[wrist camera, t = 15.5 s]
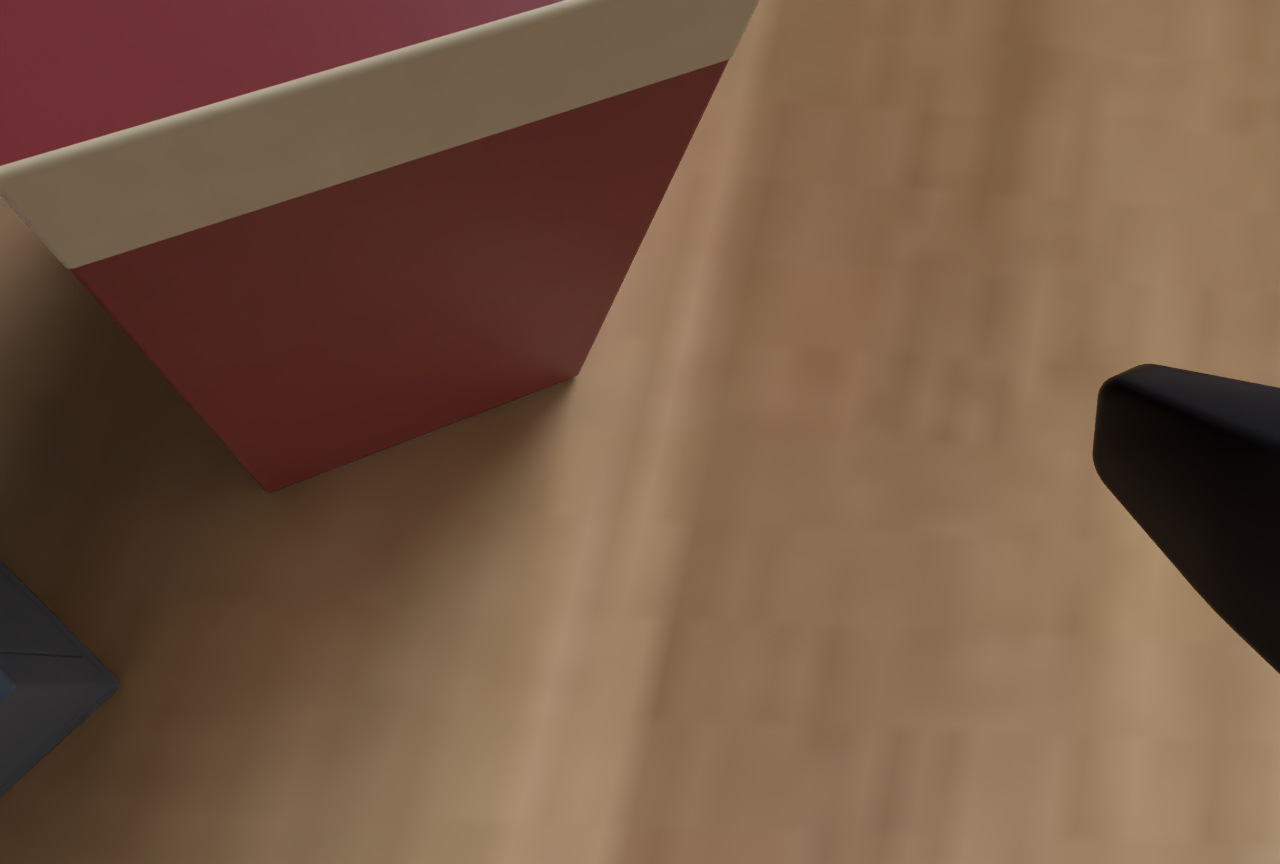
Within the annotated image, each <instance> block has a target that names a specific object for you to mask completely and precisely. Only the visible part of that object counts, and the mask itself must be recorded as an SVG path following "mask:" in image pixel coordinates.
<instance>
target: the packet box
mask: <svg viewBox="0 0 1280 864" xmlns="http://www.w3.org/2000/svg"><path fill="white" fill-rule="evenodd" d="M120 685H121V684H120V682H119V680H118V679H117V678H116V677H115V676H114V675H113V674H112V673H111V672H110V671H109V670H108V669H107V668H106V667H105V666H104V665H103V664H102V663H101V662H100V661H99V660H98V659H97V658H96V657H95V656H94V655H93V654H92V653H91V652H90V651H89V650H88V649H87V648H86V647H85V646H84V645H83V644H82V643H81V642H80V641H79V640H78V639H77V638H76V636H75V635H74V634H73V633H72V632H71V631H70V630H69V629H68V628H67V627H66V626H65V625H64V624H63V623H62V622H61V621H60V620H59V619H58V618H57V617H56V616H55V615H54V614H53V613H52V612H51V611H50V610H49V609H48V608H47V607H46V606H45V605H44V604H43V603H42V602H41V601H40V600H39V599H38V598H37V597H36V596H35V595H34V594H33V593H32V592H31V591H30V590H29V589H28V588H27V587H26V586H25V585H24V584H23V583H22V582H21V581H20V580H19V579H18V578H17V577H16V576H15V575H14V574H13V573H12V572H11V571H10V570H9V568H8V567H7V566H6V565H5V564H4V563H3V562H2V561H1V560H0V797H1V796H2V795H3V794H4V793H5V792H6V791H7V790H8V789H9V788H10V787H11V786H13V785H14V784H15V783H16V782H17V781H18V780H19V779H20V778H21V777H22V776H23V775H25V774H26V773H27V772H28V771H29V770H30V769H31V768H32V767H33V766H34V765H35V764H37V763H38V762H39V761H40V760H41V759H42V758H43V757H44V756H45V755H46V754H47V753H49V752H50V751H51V750H52V749H53V748H54V747H55V746H56V745H57V744H58V743H59V742H61V741H62V740H63V739H64V738H65V737H66V736H67V735H68V734H69V733H70V732H71V731H73V730H74V729H75V728H76V727H77V726H78V725H79V724H80V723H81V722H82V721H83V720H85V719H86V718H87V717H88V716H89V715H90V714H91V713H92V712H93V711H94V710H95V709H97V708H98V707H99V706H100V705H101V704H102V703H103V702H104V701H105V700H106V699H107V698H109V697H110V696H111V695H112V694H113V693H114V692H115V691H116V690H117V689H118V688H119V687H120Z"/></svg>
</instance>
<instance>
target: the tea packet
mask: <svg viewBox="0 0 1280 864" xmlns="http://www.w3.org/2000/svg"><path fill="white" fill-rule="evenodd" d="M759 1H760V0H0V195H1V196H2V197H3V198H4V199H5V201H6V202H7V203H8V204H9V205H10V206H11V207H12V208H13V210H14V211H15V212H16V213H17V214H18V215H19V216H20V217H21V219H22V220H23V221H24V222H25V223H26V224H27V225H28V226H29V227H30V229H31V230H32V231H33V232H34V233H35V234H36V235H37V236H38V238H39V239H40V240H41V241H42V242H43V243H44V244H45V245H46V247H47V248H48V249H49V250H50V251H51V252H52V253H53V254H54V255H55V257H56V258H57V259H58V260H59V261H60V262H61V263H62V264H63V265H64V266H65V267H66V268H68V269H69V270H70V271H71V272H72V273H73V274H74V275H75V276H76V277H77V279H78V280H79V281H80V282H81V283H82V284H83V285H84V287H85V288H86V289H87V290H88V291H89V292H90V293H91V294H92V296H93V297H94V298H95V299H96V300H97V301H98V302H99V303H100V305H101V306H102V307H103V308H104V309H105V310H106V311H107V312H108V314H109V315H110V316H111V317H112V318H113V319H114V320H115V321H116V323H117V324H118V325H119V326H120V327H121V328H122V329H123V331H124V332H125V333H126V334H127V335H128V336H129V337H130V338H131V340H132V341H133V342H134V343H135V344H136V345H137V346H138V347H139V349H140V350H141V351H142V352H143V353H144V354H145V355H146V356H147V358H148V359H149V360H150V361H151V362H152V363H153V364H154V365H155V367H156V368H157V369H158V370H159V371H160V372H161V373H162V374H163V376H164V377H165V378H166V379H167V380H168V381H169V382H170V384H171V385H172V386H173V387H174V388H175V389H176V390H177V391H178V393H179V394H180V395H181V396H182V397H183V398H184V399H185V400H186V402H187V403H188V404H189V405H190V406H191V407H192V408H193V409H194V411H195V412H196V413H197V414H198V415H199V416H200V417H201V418H202V420H203V421H204V422H205V423H206V424H207V425H208V426H209V428H210V429H211V430H212V431H213V432H214V433H215V434H216V435H217V437H218V438H219V439H220V440H221V441H222V442H223V443H224V444H225V446H226V447H227V448H228V449H229V450H230V451H231V452H232V453H233V455H234V456H235V457H236V458H237V459H238V460H239V461H240V462H241V464H242V465H243V466H244V467H245V468H246V469H247V470H248V471H249V473H250V474H251V475H252V476H253V477H254V478H255V479H256V481H257V482H258V483H259V484H260V485H261V486H262V487H263V488H264V490H265V491H266V492H272V491H275V490H278V489H280V488H283V487H286V486H288V485H291V484H293V483H296V482H299V481H301V480H304V479H307V478H309V477H312V476H314V475H317V474H320V473H322V472H325V471H328V470H330V469H333V468H335V467H338V466H341V465H343V464H346V463H349V462H351V461H354V460H356V459H359V458H362V457H364V456H367V455H370V454H372V453H375V452H377V451H380V450H383V449H385V448H388V447H390V446H393V445H396V444H398V443H401V442H404V441H406V440H409V439H411V438H414V437H417V436H419V435H422V434H425V433H427V432H430V431H432V430H435V429H438V428H440V427H443V426H446V425H448V424H451V423H453V422H456V421H459V420H461V419H464V418H467V417H469V416H472V415H474V414H477V413H480V412H482V411H485V410H488V409H490V408H493V407H495V406H498V405H501V404H503V403H506V402H508V401H511V400H514V399H516V398H519V397H522V396H524V395H527V394H529V393H532V392H535V391H537V390H540V389H543V388H545V387H548V386H550V385H553V384H556V383H558V382H561V381H564V380H566V379H569V378H571V377H574V376H577V375H578V374H579V372H580V370H581V368H582V366H583V364H584V362H585V359H586V357H587V355H588V353H589V351H590V349H591V347H592V345H593V343H594V341H595V339H596V336H597V334H598V332H599V330H600V328H601V326H602V324H603V322H604V320H605V318H606V316H607V314H608V311H609V309H610V307H611V305H612V303H613V301H614V299H615V297H616V295H617V293H618V291H619V288H620V286H621V284H622V282H623V280H624V278H625V276H626V274H627V272H628V270H629V268H630V266H631V263H632V261H633V259H634V257H635V255H636V253H637V251H638V249H639V247H640V245H641V243H642V240H643V238H644V236H645V234H646V232H647V230H648V228H649V226H650V224H651V222H652V220H653V218H654V215H655V213H656V211H657V209H658V207H659V205H660V203H661V201H662V199H663V197H664V195H665V192H666V190H667V188H668V186H669V184H670V182H671V180H672V178H673V176H674V174H675V172H676V170H677V167H678V165H679V163H680V161H681V159H682V157H683V155H684V153H685V151H686V149H687V147H688V144H689V142H690V140H691V138H692V136H693V134H694V132H695V130H696V128H697V126H698V124H699V122H700V119H701V117H702V115H703V113H704V111H705V109H706V107H707V105H708V103H709V101H710V99H711V96H712V94H713V92H714V90H715V88H716V86H717V84H718V82H719V80H720V78H721V76H722V73H723V71H724V69H725V67H726V65H727V63H728V61H729V59H730V58H731V57H732V56H733V54H734V52H735V50H736V48H737V46H738V44H739V42H740V40H741V38H742V36H743V34H744V32H745V30H746V27H747V25H748V23H749V21H750V19H751V17H752V15H753V13H754V11H755V9H756V7H757V5H758V3H759Z"/></svg>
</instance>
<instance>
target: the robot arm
mask: <svg viewBox="0 0 1280 864" xmlns="http://www.w3.org/2000/svg"><path fill="white" fill-rule="evenodd" d="M1093 461H1094V465H1095V468H1096V471H1097V473H1098V475H1099V476H1100V478H1101V480H1102V481H1103V483H1104V484H1105V485H1106V486H1107V488H1108V489H1109V490H1110V491H1111V492H1112V493H1113V495H1114V496H1115V497H1116V498H1117V499H1118V500H1119V502H1120V503H1121V504H1122V505H1123V506H1124V507H1125V509H1126V510H1127V511H1128V512H1129V513H1130V514H1131V516H1132V517H1133V518H1134V519H1135V520H1136V521H1137V523H1138V524H1139V525H1140V526H1141V527H1142V528H1143V529H1144V531H1145V532H1146V533H1147V534H1148V535H1149V536H1150V538H1151V539H1152V540H1153V541H1154V542H1155V543H1156V545H1157V546H1158V547H1159V548H1160V549H1161V550H1162V552H1163V553H1164V554H1165V555H1166V556H1167V557H1168V559H1169V560H1170V561H1171V562H1172V563H1173V564H1174V566H1175V567H1176V568H1177V569H1178V570H1179V571H1180V573H1181V574H1182V575H1183V576H1184V577H1185V578H1186V580H1187V581H1188V582H1189V583H1190V584H1191V585H1192V587H1193V588H1194V589H1195V590H1196V591H1197V592H1198V593H1199V594H1200V595H1201V597H1202V598H1203V599H1204V600H1205V601H1206V602H1207V603H1208V604H1209V605H1210V606H1211V608H1212V609H1213V610H1214V611H1215V612H1216V613H1217V614H1218V615H1219V616H1220V617H1221V618H1222V619H1223V620H1224V621H1225V622H1226V623H1227V624H1228V625H1229V626H1230V627H1231V628H1232V629H1233V630H1234V631H1235V632H1236V633H1237V634H1238V635H1239V636H1240V637H1241V638H1243V639H1244V640H1245V641H1246V642H1247V643H1248V644H1249V645H1250V646H1251V647H1252V648H1253V649H1254V650H1255V651H1256V652H1257V653H1258V654H1259V655H1260V656H1261V657H1262V658H1263V659H1265V660H1266V661H1267V662H1268V663H1269V664H1270V665H1271V666H1272V667H1273V668H1274V669H1275V670H1276V671H1277V672H1278V673H1279V674H1280V388H1277V387H1272V386H1267V385H1261V384H1256V383H1251V382H1246V381H1240V380H1235V379H1230V378H1225V377H1219V376H1214V375H1209V374H1203V373H1198V372H1193V371H1188V370H1182V369H1177V368H1172V367H1167V366H1161V365H1156V364H1143V365H1139V366H1136V367H1134V368H1131V369H1129V370H1127V371H1125V372H1122V373H1120V374H1118V375H1116V376H1113V377H1111V378H1109V379H1108V380H1106V381H1105V382H1104V383H1103V385H1102V387H1101V388H1100V390H1099V394H1098V401H1097V411H1096V422H1095V432H1094V442H1093Z"/></svg>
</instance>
